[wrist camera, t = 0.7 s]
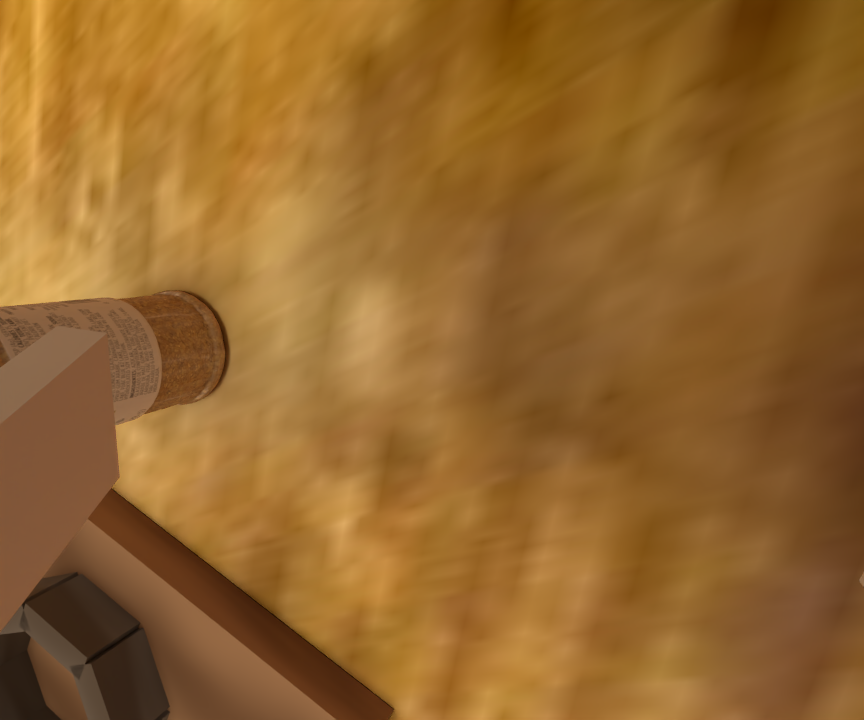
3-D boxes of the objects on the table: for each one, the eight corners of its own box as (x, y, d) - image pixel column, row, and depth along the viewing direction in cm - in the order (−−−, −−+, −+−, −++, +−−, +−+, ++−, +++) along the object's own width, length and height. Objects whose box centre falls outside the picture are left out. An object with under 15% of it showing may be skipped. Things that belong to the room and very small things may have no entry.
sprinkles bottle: (147, 399, 27) (-307, 527, 15) (134, 289, 27) (-353, 328, 14) (237, 404, 26) (-195, 552, 13) (226, 286, 25) (-240, 327, 13)
